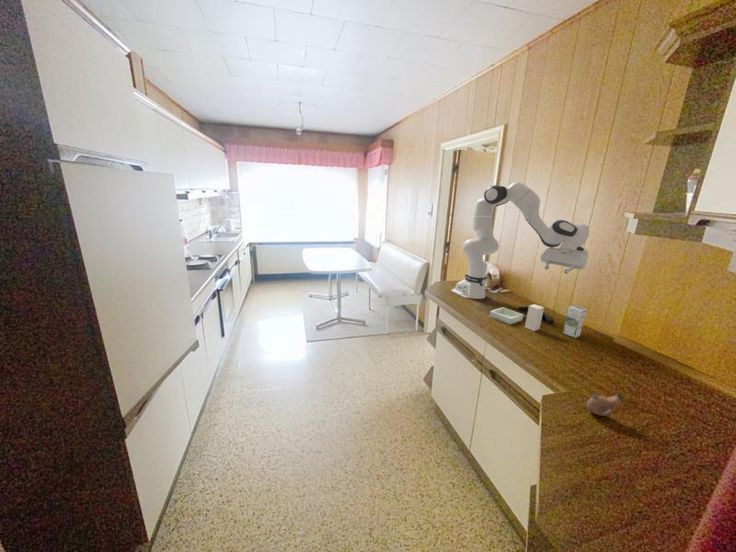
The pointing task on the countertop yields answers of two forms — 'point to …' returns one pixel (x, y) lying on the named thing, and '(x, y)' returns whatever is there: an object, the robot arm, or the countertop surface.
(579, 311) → the syrup box
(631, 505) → the countertop surface
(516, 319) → the tray
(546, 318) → the toy submachine gun
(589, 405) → the oil lamp
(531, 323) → the cream block
